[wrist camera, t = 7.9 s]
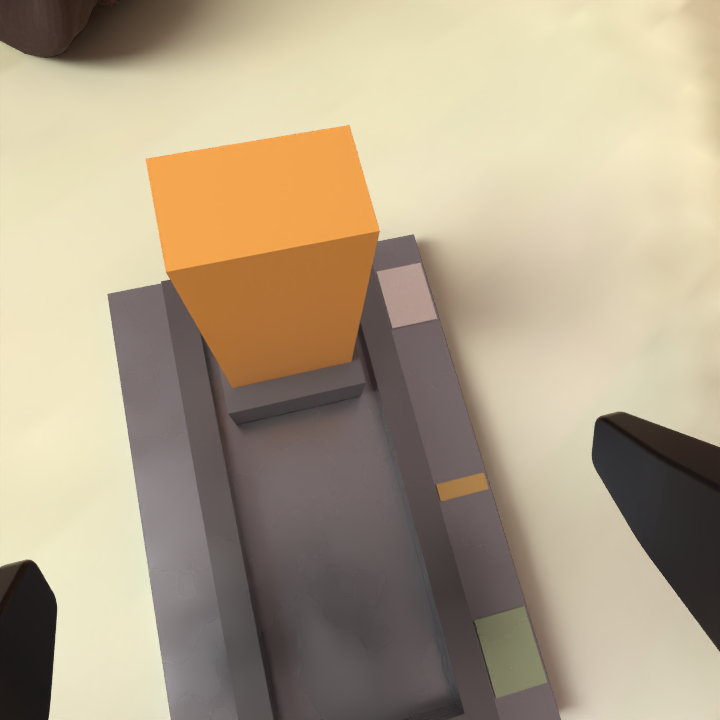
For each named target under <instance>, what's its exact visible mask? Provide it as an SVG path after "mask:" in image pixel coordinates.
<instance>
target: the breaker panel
mask: <svg viewBox="0 0 720 720" xmlns="http://www.w3.org/2000/svg"><path fill="white" fill-rule="evenodd" d="M161 283H162V284H157V285H151V286H146V287H141V288H136V289H131V290H126V291H121V292H115V293H110V294H108V301H109V307H110V314H111V321H112V328H113V334H114V341H115V348H116V354H117V361H118V368H119V375H120V381H121V388H122V395H123V401H124V408H125V415H126V422H127V428H128V435H129V442H130V448H131V455H132V462H133V469H134V475H135V482H136V489H137V495H138V502H139V509H140V516H141V522H142V529H143V536H144V542H145V549H146V556H147V563H148V569H149V576H150V583H151V589H152V596H153V603H154V610H155V616H156V623H157V630H158V636H159V643H160V650H161V657H162V663H163V670H164V677H165V683H166V690H167V697H168V703H169V710H170V717H171V720H561V719H560V715H559V712H558V709H557V705H556V702H555V699H554V695H553V692H552V689H551V686H550V682H549V679H548V676H547V672H546V669H545V666H544V663H543V659H542V656H541V653H540V649H539V646H538V643H537V639H536V636H535V633H534V630H533V626H532V623H531V620H530V616H529V613H528V610H527V606H526V603H525V600H524V597H523V593H522V590H521V587H520V583H519V580H518V577H517V573H516V570H515V567H514V564H513V560H512V557H511V554H510V550H509V547H508V544H507V540H506V537H505V534H504V531H503V527H502V524H501V521H500V517H499V514H498V511H497V508H496V504H495V501H494V498H493V494H492V491H491V488H490V484H489V481H488V478H487V475H486V471H485V468H484V465H483V461H482V458H481V455H480V451H479V448H478V445H477V442H476V438H475V435H474V432H473V428H472V425H471V422H470V418H469V415H468V412H467V409H466V405H465V402H464V399H463V395H462V392H461V389H460V386H459V382H458V379H457V376H456V372H455V369H454V366H453V362H452V359H451V356H450V353H449V349H448V346H447V343H446V339H445V336H444V333H443V329H442V326H441V323H440V320H439V316H438V313H437V310H436V306H435V303H434V300H433V296H432V293H431V290H430V287H429V283H428V280H427V277H426V273H425V270H424V267H423V264H422V260H421V257H420V254H419V250H418V247H417V244H416V240H415V237H414V235H408V236H403V237H398V238H393V239H388V240H383V241H378V242H377V246H376V250H375V255H374V259H373V264H372V269H371V273H370V278H369V282H368V287H367V292H366V296H365V301H364V305H363V310H362V315H361V319H360V324H359V328H358V333H357V338H356V342H355V343H356V347H357V351H358V355H359V358H360V362H361V366H362V370H363V374H364V378H365V381H366V383H365V386H364V389H363V392H362V395H361V396H358V397H353V398H349V399H345V400H340V401H336V402H332V403H327V404H323V405H319V406H314V407H310V408H306V409H301V410H297V411H293V412H288V413H284V414H280V415H275V416H271V417H267V418H262V419H258V420H254V421H249V422H245V423H241V424H235V423H234V421H233V420H232V418H231V417H230V416H229V414H228V411H227V406H226V401H225V395H224V390H223V385H222V380H221V375H220V370H219V365H218V362H217V360H216V358H215V357H214V355H213V353H212V351H211V350H210V348H209V346H208V344H207V343H206V341H205V339H204V337H203V336H202V334H201V332H200V330H199V329H198V327H197V325H196V323H195V322H194V320H193V318H192V316H191V315H190V313H189V311H188V310H187V308H186V306H185V304H184V303H183V301H182V299H181V297H180V296H179V294H178V292H177V290H176V289H175V287H174V285H173V283H172V282H171V280H166V281H161Z"/></svg>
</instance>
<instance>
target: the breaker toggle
mask: <svg viewBox="0 0 720 720" xmlns="http://www.w3.org/2000/svg"><path fill="white" fill-rule="evenodd" d="M146 163H147V169H148V174H149V180H150V185H151V191H152V197H153V202H154V208H155V213H156V219H157V225H158V230H159V236H160V241H161V247H162V253H163V258H164V264H165V269H166V273H167V275H168V276H169V278H170V280H171V282H172V283H173V285H174V287H175V289H176V290H177V292H178V294H179V296H180V297H181V299H182V301H183V303H184V304H185V306H186V308H187V310H188V311H189V313H190V315H191V316H192V318H193V320H194V322H195V323H196V325H197V327H198V329H199V330H200V332H201V334H202V336H203V337H204V339H205V341H206V343H207V344H208V346H209V348H210V350H211V351H212V353H213V355H214V357H215V358H216V360H217V362H218V365H219V370H220V375H221V380H222V385H223V390H224V395H225V401H226V406H227V411H228V414H229V416H230V417H231V418H232V420H233V421H234V423H235V424H241V423H245V422H249V421H254V420H258V419H262V418H267V417H271V416H275V415H280V414H284V413H288V412H293V411H297V410H301V409H306V408H310V407H314V406H319V405H323V404H327V403H332V402H336V401H340V400H345V399H349V398H353V397H358V396H361V395H362V392H363V389H364V386H365V383H366V381H365V378H364V374H363V370H362V366H361V362H360V358H359V355H358V351H357V347H356V343H355V342H356V338H357V333H358V328H359V324H360V319H361V315H362V310H363V305H364V301H365V296H366V292H367V287H368V282H369V278H370V273H371V269H372V264H373V259H374V255H375V250H376V246H377V241H378V236H379V232H380V230H379V227H378V223H377V220H376V216H375V213H374V209H373V206H372V202H371V199H370V195H369V192H368V188H367V185H366V182H365V178H364V175H363V171H362V168H361V164H360V161H359V157H358V154H357V150H356V147H355V143H354V140H353V136H352V133H351V129H350V126H349V125H347V126H341V127H335V128H329V129H323V130H317V131H311V132H305V133H299V134H293V135H287V136H281V137H275V138H269V139H263V140H257V141H251V142H245V143H238V144H232V145H226V146H220V147H214V148H208V149H202V150H196V151H190V152H184V153H178V154H172V155H166V156H160V157H154V158H148V159H146Z"/></svg>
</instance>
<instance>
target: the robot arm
mask: <svg viewBox="0 0 720 720" xmlns="http://www.w3.org/2000/svg"><path fill="white" fill-rule="evenodd" d="M592 461H593V464H594V467H595V469H596V471H597V473H598V474H599V476H600V478H601V479H602V481H603V483H604V484H605V486H606V488H607V489H608V491H609V493H610V495H611V496H612V498H613V500H614V501H615V503H616V505H617V506H618V508H619V510H620V511H621V513H622V515H623V516H624V518H625V520H626V522H627V523H628V525H629V527H630V528H631V530H632V532H633V533H634V535H635V536H636V538H637V540H638V541H639V543H640V544H641V546H642V547H643V549H644V550H645V551H646V553H647V554H648V556H649V557H650V558H651V560H652V561H653V563H654V564H655V565H656V567H657V568H658V569H659V571H660V572H661V573H662V575H663V576H664V577H665V579H666V580H667V581H668V583H669V584H670V585H671V587H672V588H673V589H674V591H675V592H676V593H677V595H678V596H679V597H680V599H681V600H682V602H683V603H684V604H685V606H686V607H687V608H688V610H689V611H690V612H691V614H692V615H693V616H694V618H695V619H696V620H697V622H698V623H699V624H700V626H701V627H702V628H703V630H704V631H705V632H706V634H707V635H708V636H709V638H710V639H711V641H712V642H713V643H714V645H715V646H716V647H717V649H718V650H719V651H720V447H718V446H715V445H712V444H709V443H707V442H704V441H701V440H698V439H696V438H693V437H690V436H688V435H685V434H682V433H679V432H677V431H674V430H671V429H668V428H666V427H663V426H660V425H658V424H655V423H652V422H649V421H647V420H644V419H641V418H638V417H636V416H633V415H630V414H628V413H625V412H615V413H611V414H607V415H603V416H600V417H599V418H598V419H597V420H596V422H595V427H594V437H593V447H592ZM56 620H57V603H56V598H55V595H54V593H53V592H52V590H51V588H50V586H49V585H48V583H47V581H46V579H45V578H44V576H43V574H42V573H41V571H40V569H39V567H38V566H37V564H36V563H35V562H34V561H32V560H23V561H19V562H15V563H11V564H7V565H4V566H1V567H0V720H48V718H49V711H50V701H51V688H52V675H53V661H54V647H55V633H56Z"/></svg>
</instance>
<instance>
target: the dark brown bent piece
mask: <svg viewBox="0 0 720 720" xmlns="http://www.w3.org/2000/svg"><path fill="white" fill-rule="evenodd" d="M118 1H119V0H0V41H2V42H4V43H6V44H8V45H9V46H11V47H13V48H15V49H17V50H19V51H21V52H23V53H25V54H30V55H34V56H40V57H50V56H55V55H58V54H60V53H62V52H64V51H65V50H66V49H67V48H68V46H69V45H70V44H71V43H72V41H73V39H74V37H75V36H76V35H77V34H78V33H79V32H81V31H82V30H83V29H84V28H85V26H86V24H87V22H88V19H89V17H90V15H91V12H92V10H93V8H94V6H95V5H100V4H102V5H112V6H115V5H116V4H117V2H118Z"/></svg>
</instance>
